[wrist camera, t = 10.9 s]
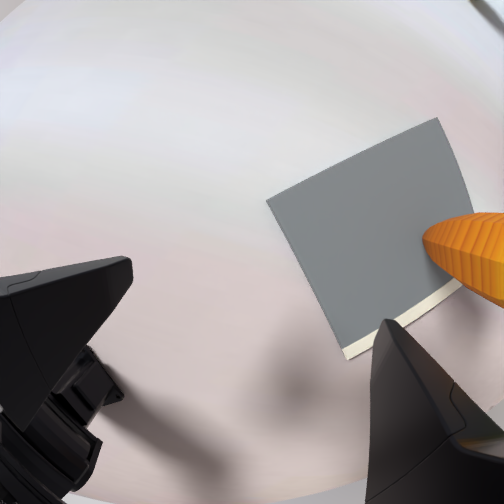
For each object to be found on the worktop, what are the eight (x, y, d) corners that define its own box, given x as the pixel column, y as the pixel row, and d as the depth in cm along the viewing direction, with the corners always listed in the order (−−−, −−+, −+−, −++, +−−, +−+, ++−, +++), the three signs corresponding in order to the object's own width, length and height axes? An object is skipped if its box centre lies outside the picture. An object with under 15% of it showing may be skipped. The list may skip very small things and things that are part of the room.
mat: (344, 356, 21) (347, 360, 21) (265, 200, 19) (266, 200, 19) (482, 263, 20) (486, 264, 19) (433, 118, 18) (437, 116, 17)
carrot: (394, 267, 19) (553, 356, 5) (402, 201, 19) (583, 215, 4) (441, 270, 19) (584, 338, 5) (449, 210, 19) (606, 234, 4)
